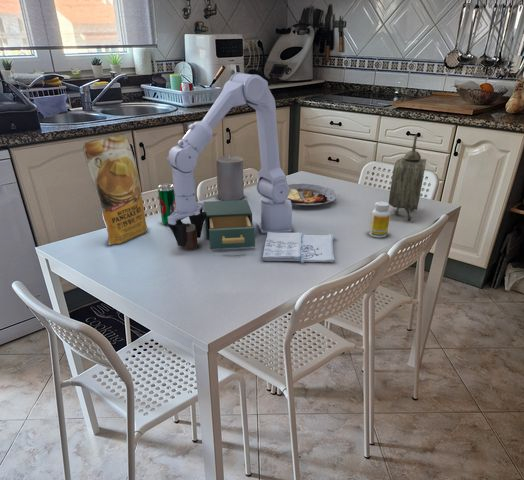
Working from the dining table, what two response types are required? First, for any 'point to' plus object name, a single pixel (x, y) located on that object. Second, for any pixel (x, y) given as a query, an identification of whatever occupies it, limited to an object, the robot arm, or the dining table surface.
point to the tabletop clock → (407, 181)
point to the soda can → (166, 201)
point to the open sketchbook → (298, 247)
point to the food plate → (310, 195)
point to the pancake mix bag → (117, 186)
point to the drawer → (231, 232)
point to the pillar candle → (229, 178)
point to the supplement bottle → (379, 220)
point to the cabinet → (226, 210)
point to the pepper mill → (191, 237)
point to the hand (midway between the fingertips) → (189, 241)
